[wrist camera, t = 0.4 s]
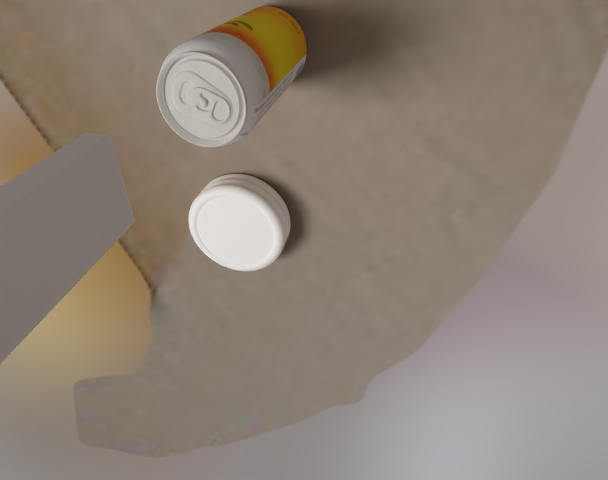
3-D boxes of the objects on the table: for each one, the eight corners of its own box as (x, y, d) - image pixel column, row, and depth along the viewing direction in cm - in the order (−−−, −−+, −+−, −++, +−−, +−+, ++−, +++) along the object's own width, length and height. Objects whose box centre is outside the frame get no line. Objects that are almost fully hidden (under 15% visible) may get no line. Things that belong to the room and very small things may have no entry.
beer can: (252, -10, 35) (163, 21, 23) (321, 28, 36) (269, 79, 24) (227, 62, 39) (139, 123, 27) (291, 96, 39) (232, 171, 27)
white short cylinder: (182, 207, 49) (167, 224, 46) (240, 152, 44) (228, 167, 41) (249, 268, 52) (239, 288, 49) (311, 223, 46) (304, 242, 44)
